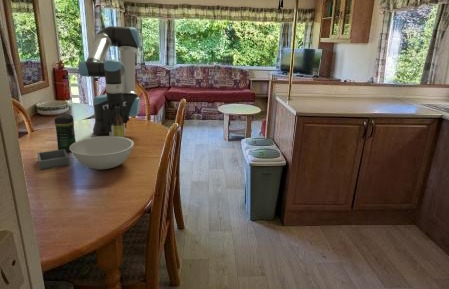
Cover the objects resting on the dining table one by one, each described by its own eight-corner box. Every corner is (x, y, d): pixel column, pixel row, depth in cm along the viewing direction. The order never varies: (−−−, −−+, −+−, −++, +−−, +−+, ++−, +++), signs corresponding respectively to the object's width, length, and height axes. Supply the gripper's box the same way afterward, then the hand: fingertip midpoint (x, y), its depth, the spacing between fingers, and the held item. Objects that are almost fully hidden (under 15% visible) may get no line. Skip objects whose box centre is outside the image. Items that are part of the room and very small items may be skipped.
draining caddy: (65, 156, 153) (64, 149, 152) (69, 165, 143) (68, 157, 142) (38, 160, 147) (37, 152, 146) (40, 170, 137) (39, 161, 136)
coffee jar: (73, 152, 158) (69, 117, 153) (56, 153, 157) (51, 117, 151) (78, 146, 167) (74, 112, 162) (62, 147, 166) (58, 112, 160)
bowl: (74, 157, 152) (71, 138, 149) (132, 152, 162) (131, 134, 159) (69, 180, 128) (66, 158, 125) (137, 173, 138) (136, 152, 134)
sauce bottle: (113, 141, 168) (110, 104, 161) (125, 141, 168) (123, 104, 162) (110, 145, 161) (107, 107, 155) (123, 145, 162) (120, 107, 155)
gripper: (100, 95, 146) (105, 141, 154) (135, 90, 161) (137, 133, 168) (92, 93, 151) (96, 138, 158) (126, 88, 165) (129, 130, 173)
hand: (117, 135), depth 163 cm, fingers closed on sauce bottle, 6 cm apart
